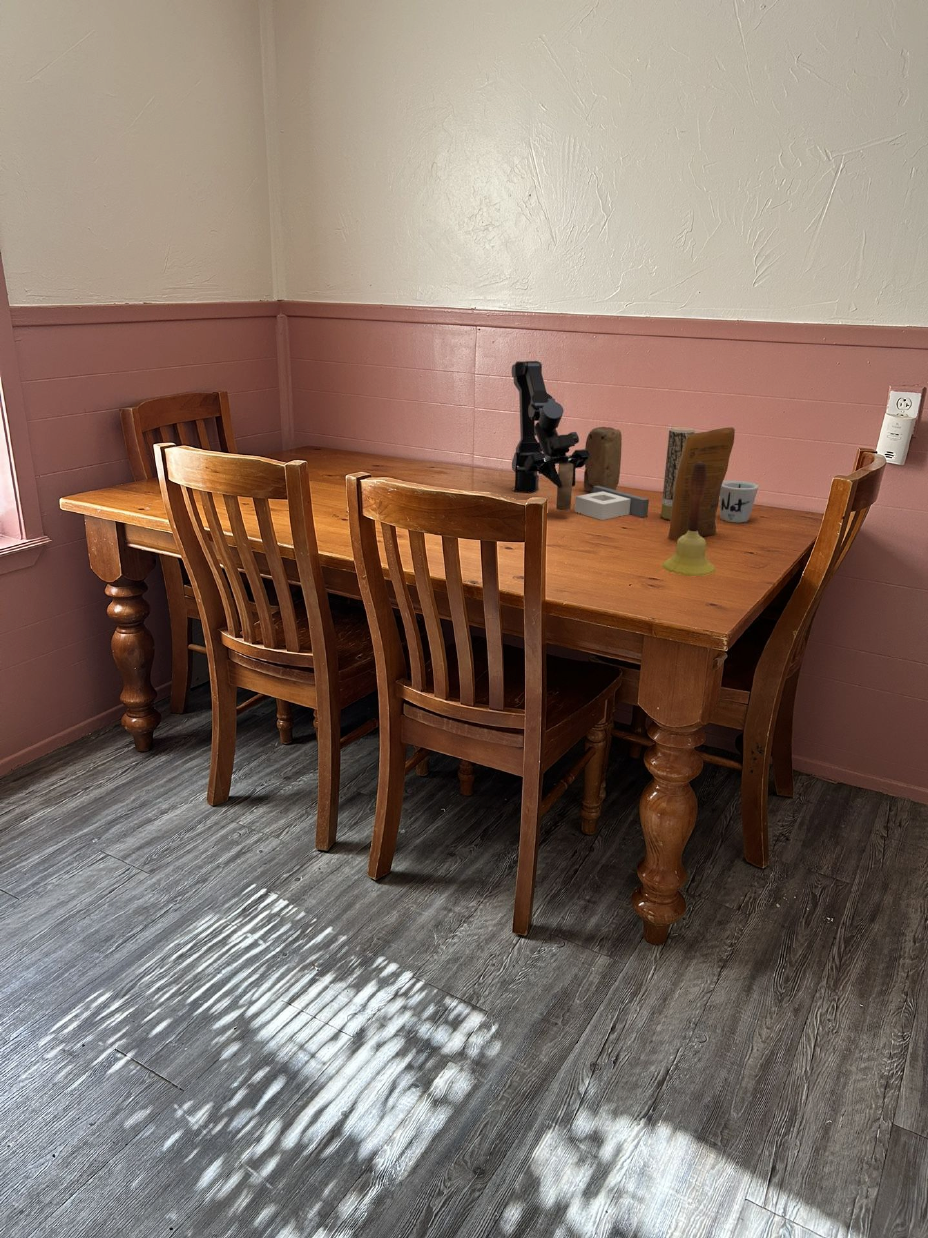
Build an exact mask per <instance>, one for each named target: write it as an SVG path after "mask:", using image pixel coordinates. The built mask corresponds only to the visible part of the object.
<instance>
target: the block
mask: <svg viewBox="0 0 928 1238" xmlns="http://www.w3.org/2000/svg"><path fill="white" fill-rule="evenodd" d="M622 437H623V435H622V432H621V430H620V429H616V428H614V427H607V426H599V427H595V428H592V429H591V430H590V431H589V433H588V435H587V437H586V441H585V448H584V449H587V450H588V451H589V453H590V455H591V457H590V458H589V460H588V461H587V462H586V463H585V465H584V474H583V489H584V490H586V491H587V492H589V493H590V494H591V493H593V486H602V487H605V488H609V489H613V490H616V489H617V487H618V485H619V482H620V474H621V461H622V440H623V439H622ZM616 491H617V490H616Z"/></svg>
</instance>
